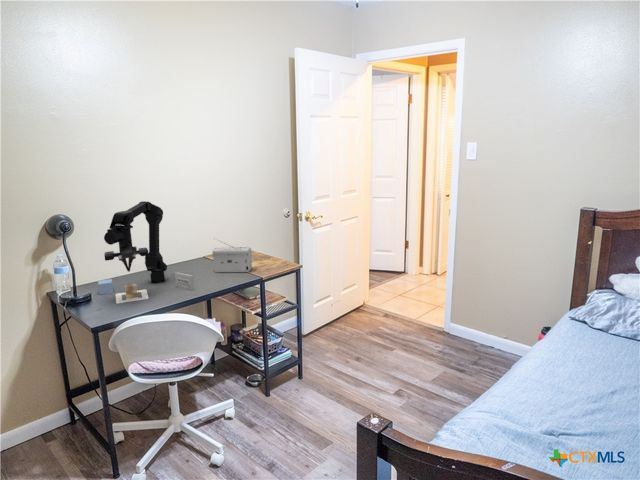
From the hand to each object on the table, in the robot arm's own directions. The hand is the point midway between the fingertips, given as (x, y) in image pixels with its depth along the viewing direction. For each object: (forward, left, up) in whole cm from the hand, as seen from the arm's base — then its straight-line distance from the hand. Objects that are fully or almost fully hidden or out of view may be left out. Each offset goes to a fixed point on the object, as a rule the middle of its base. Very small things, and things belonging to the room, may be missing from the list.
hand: (128, 271), depth 210 cm
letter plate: (0, 0, -13) cm, 13 cm away
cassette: (-25, -1, -13) cm, 28 cm away
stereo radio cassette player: (-54, -18, -13) cm, 58 cm away
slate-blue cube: (+11, -12, -13) cm, 21 cm away
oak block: (0, 0, -12) cm, 12 cm away
